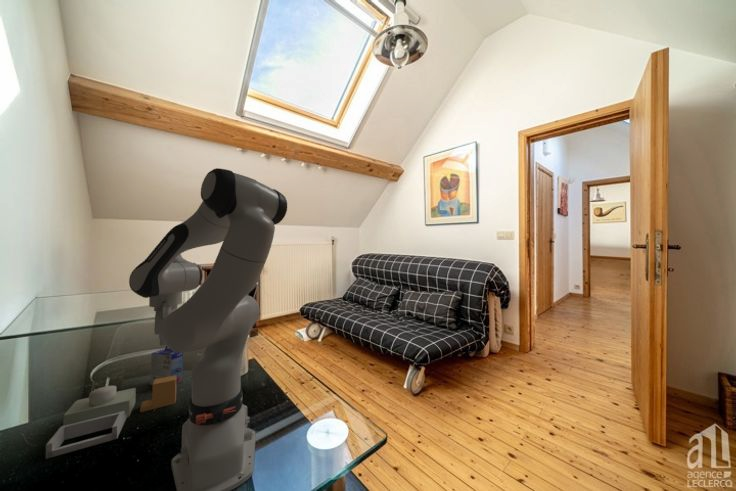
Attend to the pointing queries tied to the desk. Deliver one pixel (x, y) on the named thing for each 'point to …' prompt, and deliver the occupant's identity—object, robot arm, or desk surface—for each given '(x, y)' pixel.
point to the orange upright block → (161, 394)
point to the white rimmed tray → (93, 419)
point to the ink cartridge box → (166, 365)
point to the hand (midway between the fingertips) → (165, 340)
